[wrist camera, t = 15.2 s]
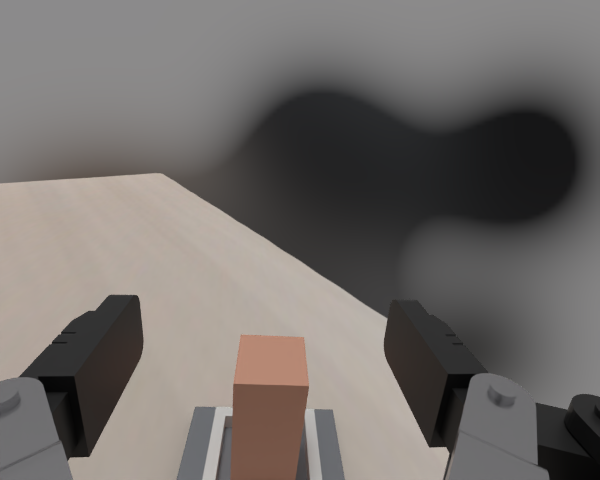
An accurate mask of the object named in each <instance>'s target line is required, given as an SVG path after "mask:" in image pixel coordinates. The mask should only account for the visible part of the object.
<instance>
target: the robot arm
mask: <svg viewBox="0 0 600 480" xmlns="http://www.w3.org/2000/svg"><path fill="white" fill-rule="evenodd" d="M142 350H143V330H142V320H141V310H140V301H139V298H138V296H137V295H109V296H108V297H107V298H106V299H105V300H104V301H103V302H102V304H101V305H100V306H99V307H98V308H97V309H96V310H95V311H88V312H86V313H84V314H83V315H81V316H79V317H78V318H76V319H74V320H72V321H71V322H70V323H69V325H68V326H67V327H66V328H65V329H64V330H63V331H62V332H61V335H58V336H57V337H56V338H55V339H54V340H53V341H52V344H50V345H49V346H48V347H47V348H46V349H45V350H44V351H43V352H42V353H41V354H40V355H39V356H38V357H37V358H36V359H35V360H34V361H33V363H32V364H31V365H30V366H29V367H28V368H27V369H26V370H25V371H24V372H23V373H22V374H21V375H20V376H19V377H18V378H12V379H7V380H4V381H1V382H0V480H73V478H72V475H71V471H70V468H69V465H68V460H69V458H70V457H89V456H90V454H91V452H92V450H93V449H94V447H95V445H96V443H97V441H98V439H99V437H100V435H101V433H102V431H103V429H104V427H105V425H106V424H107V422H108V420H109V418H110V416H111V414H112V412H113V410H114V408H115V406H116V404H117V402H118V400H119V399H120V397H121V395H122V393H123V391H124V389H125V387H126V385H127V383H128V381H129V379H130V377H131V376H132V374H133V372H134V370H135V368H136V366H137V364H138V362H139V360H140V358H141V355H142ZM384 352H385V357H386V359H387V362H388V364H389V366H390V368H391V370H392V372H393V374H394V376H395V378H396V380H397V382H398V384H399V386H400V388H401V390H402V392H403V394H404V397H405V399H406V401H407V403H408V405H409V407H410V409H411V411H412V413H413V415H414V417H415V419H416V421H417V423H418V425H419V427H420V429H421V431H422V433H423V435H424V437H425V440H426V442H427V444H428V446H429V447H446V448H447V449H448V451H449V453H450V454H449V458H448V461H447V465H446V469H445V473H444V477H443V480H600V397H598V396H594V395H589V394H580V395H576V396H574V397H573V398H572V401H571V403H570V406H569V408H568V410H566V409H561V408H557V407H553V406H548V405H544V404H539V403H535V402H534V399H533V398H532V396H531V395H530V394H529V393H528V392H527V391H526V390H525V389H524V388H523V387H521V386H520V385H518V384H517V383H515V382H513V381H511V380H510V379H507V378H505V377H502V376H499V375H495V374H490V373H488V372H487V370H486V369H485V368H484V367H483V366H482V365H481V363H480V362H479V361H478V360H477V359H476V358H475V357H474V355H473V354H472V353H471V352H470V351H469V349H468V348H467V347H466V346H464V345H463V342H461V340H460V339H459V338H458V337H456V334H455V333H454V332H453V331H452V330H451V328H450V327H449V326H448V325H447V324H446V323H444V322H443V321H441V320H440V319H438V318H437V317H435V316H434V315H429V314H428V313H427V312H426V310H425V309H424V308H423V307H422V305H421V304H420V303H419V302H418V301H417V300H392V302H391V304H390V309H389V314H388V320H387V326H386V332H385V338H384Z"/></svg>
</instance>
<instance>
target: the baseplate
mask: <svg viewBox="0 0 600 480" xmlns="http://www.w3.org/2000/svg"><path fill="white" fill-rule="evenodd" d="M232 414H233V407H195V410H194V414H193V418H192V422H191V426H190V429H189V433H188V437H187V441H186V445H185V449H184V453H183V457H182V460H181V464H180V468H179V472H178V476H177V480H230V474H231V444H232ZM295 480H345V478H344V472H343V467H342V461H341V455H340V450H339V444H338V438H337V432H336V427H335V421H334V415H333V410H323V409H306V410H305V417H304V424H303V431H302V437H301V444H300V451H299V458H298V465H297V472H296V479H295Z"/></svg>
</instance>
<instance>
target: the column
mask: <svg viewBox="0 0 600 480" xmlns="http://www.w3.org/2000/svg"><path fill="white" fill-rule="evenodd" d="M308 389H309V381H308V372H307V362H306V353H305V343H304V337H284V336H261V335H241V337H240V344H239V351H238V357H237V364H236V371H235V377H234V384H233V414H232V444H231V474H230V480H295V479H296V472H297V465H298V458H299V451H300V444H301V437H302V431H303V424H304V417H305V410H306V403H307V396H308Z"/></svg>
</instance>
